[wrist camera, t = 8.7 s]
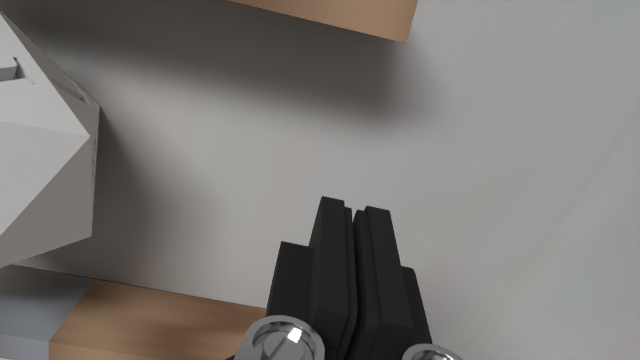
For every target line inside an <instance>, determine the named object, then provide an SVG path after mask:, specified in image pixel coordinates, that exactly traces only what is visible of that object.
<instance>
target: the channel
mask: <svg viewBox="0 0 640 360" xmlns="http://www.w3.org/2000/svg"><path fill="white" fill-rule="evenodd" d="M228 1H232V2H236V3H240V4H245V5H249V6H253V7H257V8H261V9H266V10H270V11H274V12H278V13H282V14H286V15H291V16H295V17H299V18H303V19H307V20H311V21H316V22H320V23H324V24H328V25H332V26H337V27H341V28H345V29H349V30H353V31H357V32H362V33H366V34H370V35H374V36H378V37H382V38H387V39H391V40H395V41H399V42H403V43H406V40H407V36H408V33H409V30H410V26H411V23H412V19H413V16H414V12H415V9H416V6H417V2H418V0H228ZM266 310H267V309H263V308H258V307H252V306H246V305H241V304H235V303H229V302H223V301H218V300H212V299H206V298H200V297H195V296H189V295H183V294H177V293H172V292H166V291H160V290H154V289H149V288H143V287H137V286H131V285H126V284H120V283H114V282H108V281H103V280H97V279H91V278H85V277H80V276H74V275H68V274H62V273H57V272H51V271H45V270H39V269H34V268H28V267H22V266H16V265H8V266H5V267H2V268H0V358H5V359H12V360H225V359H227V358H229V357H231V356H233V355H235V354H236V353H237V351H238V348H239V346H240V344H241V342H242V340H243V337H244V335H245V333H246V332H247V330H248V329H249V327H250V326H251V325H252V324H253V323H255V322H256V321H258V320H259V319H261V318H265V315H266Z"/></svg>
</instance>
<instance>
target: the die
mask: <svg viewBox="0 0 640 360" xmlns="http://www.w3.org/2000/svg"><path fill="white" fill-rule="evenodd" d="M99 111H100V106H99V105H98V104H97V103H96V102H95V101H94V100H93V99H92V98H91V97H90V96H89V95H88V94H87V93H86V92H85V91H84V90H83V89H82V88H81V87H80V86H79V85H78V84H77V83H75V82H74V81H73V80H72V79H71V78H69V77H68V76H67V75H66V73H65V72H64V71H63V70H62V69H61V68H60V67H59V66H58V65H57V64H56V63H55V62H54V61H53V60H52V59H50V58H49V57H48V56H47V55H46V54H45V53H44V52H43V51H42V50H41V49H40V48H39V47H38V46H37V45H36V44H35V43H34V42H33V41H32V40H31V39H30V38H29V37H28V36H26V35H25V34H24V33H23V32H22V31H21V30H20V29H19V28H18V27H17V26H16V25H15V24H14V23H13V22H12V21H11V20H10V19H9V18H8V17H7V16H6V15H5V14H4V13H3V12H1V11H0V268H2V267H5V266H8V265H11V264H14V263H16V262H19V261H22V260H25V259H28V258H31V257H34V256H37V255H39V254H42V253H45V252H48V251H51V250H54V249H57V248H60V247H62V246H65V245H68V244H71V243H74V242H77V241H80V240H83V239H85V238H88V237H91V236H92V222H93V206H94V190H95V174H96V159H97V143H98V127H99Z"/></svg>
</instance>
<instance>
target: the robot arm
mask: <svg viewBox="0 0 640 360" xmlns="http://www.w3.org/2000/svg"><path fill="white" fill-rule="evenodd" d="M225 360H463V359H462V358H460V357H459V356H457V355H456V354H454V353H453V352H451V351H450V350H447V349H445V348H443V347H440V346H437V345H433V344H432V340H431V336H430V331H429V327H428V323H427V319H426V315H425V311H424V307H423V303H422V299H421V295H420V291H419V287H418V283H417V279H416V275H415V272H414V270H413V269H412V268H409V267H404V266H401V264H400V259H399V254H398V249H397V244H396V239H395V235H394V230H393V225H392V220H391V215H390V211H389V210H385V209H380V208H375V207H371V206H366V208H365V210H364V211H362V210H357V211H356V214H355V217H354V220H353V223H352V209H351V208H348V207H345V206H344V201H343V200H338V199H334V198H329V197H324V196H322V198H321V200H320V204H319V208H318V212H317V215H316V219H315V223H314V227H313V231H312V235H311V238H310V242H309V246H303V245H298V244H293V243H288V242H283V241H281V245H280V249H279V253H278V258H277V262H276V267H275V271H274V276H273V280H272V285H271V290H270V294H269V299H268V304H267V310H266V315H265V318H261V319H259V320H258V321H256V322H255V323H253V324H252V325H251V326H250V327H249V329H248V330H247V332H246V333H245V335H244V337H243V340H242V342H241V344H240V346H239V348H238V351H237V353H236V354H235V355H233V356H231V357H229V358H227V359H225Z"/></svg>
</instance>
